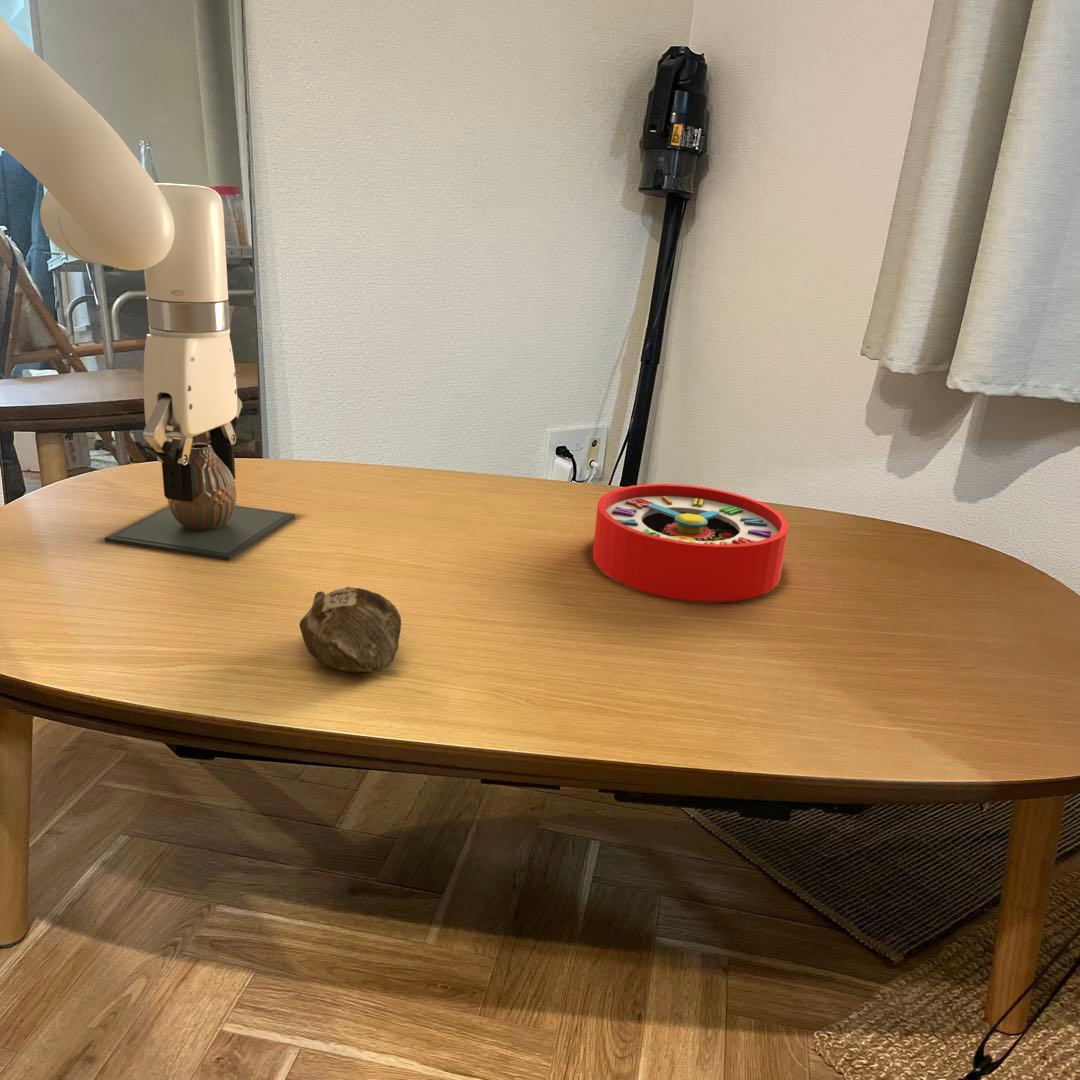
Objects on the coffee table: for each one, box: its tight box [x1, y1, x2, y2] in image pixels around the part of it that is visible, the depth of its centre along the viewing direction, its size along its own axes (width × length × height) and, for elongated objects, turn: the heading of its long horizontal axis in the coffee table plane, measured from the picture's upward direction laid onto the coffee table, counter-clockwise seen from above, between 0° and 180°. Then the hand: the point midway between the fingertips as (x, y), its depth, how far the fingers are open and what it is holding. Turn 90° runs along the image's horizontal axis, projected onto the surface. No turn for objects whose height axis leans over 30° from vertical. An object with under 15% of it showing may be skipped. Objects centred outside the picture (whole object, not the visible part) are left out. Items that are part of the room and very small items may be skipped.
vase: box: [167, 442, 237, 531], centre depth 95 cm, size 7×7×9 cm
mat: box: [104, 505, 296, 561], centre depth 97 cm, size 14×14×1 cm
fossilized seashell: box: [299, 586, 402, 674], centre depth 72 cm, size 8×7×10 cm
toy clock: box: [592, 483, 790, 603], centre depth 96 cm, size 20×6×20 cm
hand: (201, 487), depth 95 cm, fingers closed on vase, 6 cm apart
